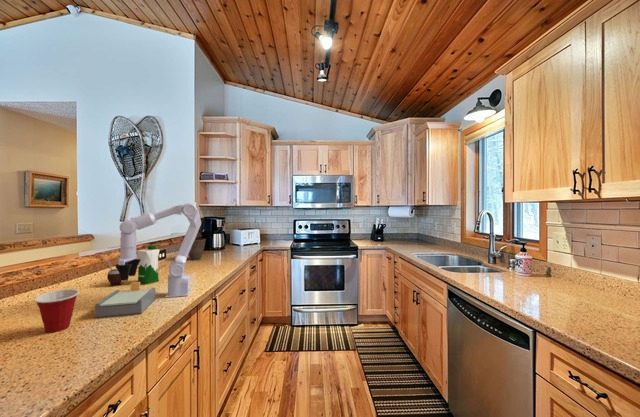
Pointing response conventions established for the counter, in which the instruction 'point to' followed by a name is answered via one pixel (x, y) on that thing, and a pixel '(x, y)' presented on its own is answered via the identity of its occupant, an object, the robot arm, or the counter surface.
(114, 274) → the mate gourd
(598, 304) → the counter surface
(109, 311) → the parts tub
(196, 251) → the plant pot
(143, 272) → the milk carton
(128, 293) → the lid
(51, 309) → the plastic cup
